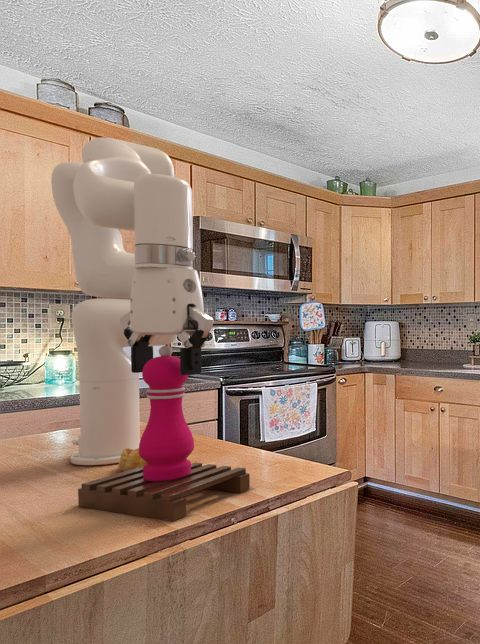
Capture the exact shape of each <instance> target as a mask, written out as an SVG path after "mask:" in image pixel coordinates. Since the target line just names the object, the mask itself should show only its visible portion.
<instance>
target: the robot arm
mask: <svg viewBox="0 0 480 644" xmlns="http://www.w3.org/2000/svg"><path fill="white" fill-rule="evenodd" d="M81 159H82V162H81V161H65V162H60V163H58V164H57V165H55V166H54V168H53V170H52V173H51V178H50V182H51V183H50V184H51V185H50V186H51V191H52V197H53V202H54V205H55V207H56V211H57V212H58V214H59V216H60V219H61V220H62V222H63V223H64V225H65V227H66V229H67V231H68V234H69V235H70V237H69V238H70V242H71V249H72V259H73V266H74V274H75V278H76V283H77V286H78V288H79V290H80V291H81V292H82V293H83V294H85V295H87V296H91V297H96V298H90V299H86V300H82V301H80V302H79V303H77V304H76V305H75V307H74V308H73V309H72V312H71V326H72V330H73V335H74V339H75V345H76V352H77V360H78V361H77V362H78V381H79V383H78V384H79V385H78V387H79V428H80V431H79V432H80V434H79V435H78V438H77V437H75V438H73V439H72V441H71V444H72V445H73V446H78V452H75V453H73V454H72V455H71V456H70V463H71V464H72V465H76V466H102V465H103V466H104V465H111V464H112V465H113V464H119V461H120V457H121V454H122V451H123V450H124V449H132V450H135V449H137V448H139V444H140V440H141V416H140V415H141V411H140V373H142V372H143V368H144V365H145V364H146V363H147V362H148V361H149V360H151V359H153V358H154V347H155V346H157V347H158V346H160V347H161V346H168V345H170V344H172V343H173V342H175V340H177V338H178V340H179V341H180V342H181V345H183V347H181V348H179V349H180V350H179V358H180V373H181V374H182V375H189V376H190V375H191V376H192V375H200V374H201V373H202V370H203V369H202V348H204V347H205V346H206V341H207V340H208V339H209V337H210V336H211V333H210V332H211V330H212V328H213V326H214V324H215V319H214V317H212V316H210V315H209V314H207V313H206V312H205V308H204V307H205V306H204V300H203V299H204V298H203V291H202V290H203V289H202V285H201V280H200V276H199V273H198V270H196V269H194V260H195V259H196V254H195V252H194V217H193V216H194V213H193V212H194V206H193V205H194V204H193V203H194V201H193V200H194V199H193V197H194V196H193V189H192V187H191V185H190V184H189V182H187V181H185V180H184V179H181V178H179V177H176V176H175V167H174V163H173V161H172V160H171V158H170V156H169V155H168V154H167V153H166V152H164V150H161V149H159V148H155V147H151V146H147V145H143V144H139V143H134V142H131V141H128V140H127V141H126V140H123V139H118V138H113V137H105V136H101V137H96V138H92V139H90V140H89V141H87V142H86V143H85V144H84V146H83V147H82V150H81ZM120 230H123V231H133V232H134V253H131V252H128V251H126V250H125V248H124V242H123V236H122V233H121V231H120ZM123 348H130V355H129V354H127V352H126V351H124V349H123Z"/></svg>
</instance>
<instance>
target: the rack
mask: <svg viewBox="0 0 480 644" xmlns="http://www.w3.org/2000/svg"><path fill="white" fill-rule="evenodd" d="M143 467H144V466H143ZM143 467H139V468H136V469H132V470H129V471H121V472H118V473H115V474H111V475H108V476H104V477H101V478H97V479H94V480H90V481H87V482H83V483H81V484H80V485H81V486H80V488H77V502H78V503H77V505H78V507H81V508H88V509H93V510H100V511H105V512H106V511H107V512H112V513H119V514H125V515H132V516H138V517H145V518H151V519H157V520H163V521H170V522H175V521H177V520H180V519H182V518H185V517H186V516H187V498H186V496H188V495H191V494H194V493H196V492H199V491H202V490H204V489H206V490H213V491H215V490H216V491H223V492H229V493H238V494H241V493H244V492H246V491H249V490H250V484H251V483H250V481H251V480H250V478H251V477H250V473H249V472H247V468H245V467H235V468H232V466H229V465H221V466H218V467H217V464H212V463H208V464H205V465H203V463H201V462H191V473H190V474H189V475H187V476H184V477H182V478H178V479H174V480H168V481H147V480H144V478H143Z"/></svg>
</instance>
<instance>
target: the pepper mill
mask: <svg viewBox="0 0 480 644" xmlns="http://www.w3.org/2000/svg"><path fill="white" fill-rule="evenodd" d="M158 354H159V356H156V357H153V359H151V360H149V361H148V362H147V363H146V364H145V365H144V368H143V372H141V377H142V380H143V381H144V383H145V384H146V385H148V388H147V389H146V390H145V391H146V393H147V394H146V398H147V399H149V404H150V405H149V406H150V410H149V417H148V421H147V424H146V426H145V428H144V431H143V432H142V435H141V436H140V444H139V455H140V457H141V458H142V459H143V460H145V461H146V462H147V465H145V466H144V467H143V478H144V480H147V481H168V480H174V479H178V478H182V477H184V476H187V475H189V474H190V473H191V464H192V461H191V460H190V459H188V457H189V456H190V455H191V454H192V453H193V451H194V450H195V440H194V436H193V433H192V431H191V429H190V427H189V425H188V422H187V421H186V418H185V415H184V412H183V411H184V410H183V398H184V397H185V396H186V393H185V390H186V387H185V386H183V385H184V384H185V383H186V381H187V380H188V378H189V376H190V375H182V374H181V373H180V357H177V356H174V355H172V354H173V349H172V347H170V346H169V345H161V346H160V347H159V348H158Z"/></svg>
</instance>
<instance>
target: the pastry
mask: <svg viewBox="0 0 480 644" xmlns="http://www.w3.org/2000/svg"><path fill="white" fill-rule="evenodd" d="M145 465H147V462H146V461H145V460H143V459H142V458H141V457H140V455H139V448H137V449H135V450H132V449H124V450H123V451H122V454H121V457H120V461H119V463H118V466H117V470H119V471H121V472H125V471H129V470H132V469H136V468H139V467H143V466H145Z"/></svg>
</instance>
